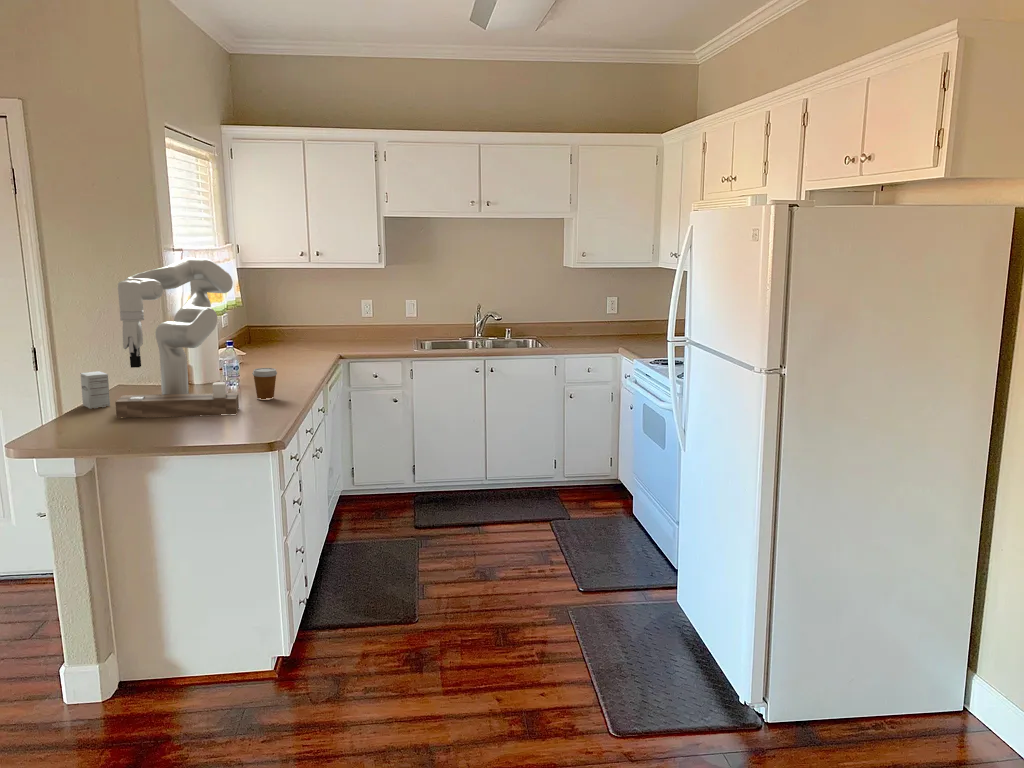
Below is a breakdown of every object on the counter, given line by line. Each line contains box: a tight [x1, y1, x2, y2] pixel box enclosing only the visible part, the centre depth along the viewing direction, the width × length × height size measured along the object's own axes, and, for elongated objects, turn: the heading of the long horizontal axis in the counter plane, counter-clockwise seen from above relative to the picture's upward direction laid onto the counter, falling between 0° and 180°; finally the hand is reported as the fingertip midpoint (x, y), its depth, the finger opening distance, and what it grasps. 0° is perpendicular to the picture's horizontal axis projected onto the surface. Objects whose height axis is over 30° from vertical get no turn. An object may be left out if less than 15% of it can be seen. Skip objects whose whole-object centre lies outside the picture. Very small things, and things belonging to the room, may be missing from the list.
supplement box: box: [80, 370, 111, 410], centre depth 284 cm, size 7×7×13 cm
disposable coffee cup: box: [252, 367, 278, 399], centre depth 305 cm, size 10×10×12 cm
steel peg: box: [129, 397, 145, 400], centre depth 274 cm, size 4×4×6 cm
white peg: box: [211, 381, 227, 398], centre depth 280 cm, size 4×4×6 cm
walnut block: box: [115, 392, 240, 419], centre depth 278 cm, size 11×40×6 cm, turn 105°
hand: (135, 366), depth 271 cm, fingers closed
